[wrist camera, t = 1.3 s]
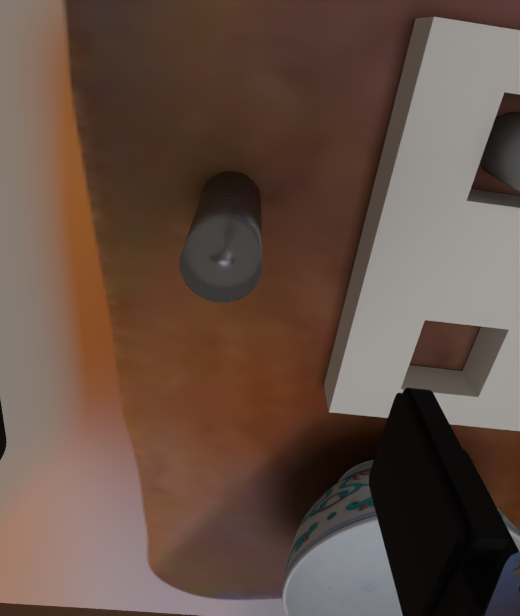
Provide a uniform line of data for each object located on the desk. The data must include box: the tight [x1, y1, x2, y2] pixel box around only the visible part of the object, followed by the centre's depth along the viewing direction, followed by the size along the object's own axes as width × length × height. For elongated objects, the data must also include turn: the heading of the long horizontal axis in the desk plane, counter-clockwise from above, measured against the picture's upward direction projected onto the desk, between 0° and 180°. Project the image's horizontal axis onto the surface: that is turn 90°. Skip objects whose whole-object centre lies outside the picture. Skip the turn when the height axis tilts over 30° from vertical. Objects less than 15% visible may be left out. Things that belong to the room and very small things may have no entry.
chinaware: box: [282, 460, 520, 616], centre depth 32 cm, size 15×15×8 cm
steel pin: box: [180, 171, 262, 302], centre depth 21 cm, size 3×3×8 cm
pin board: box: [324, 17, 520, 431], centre depth 23 cm, size 20×12×8 cm, turn 172°
